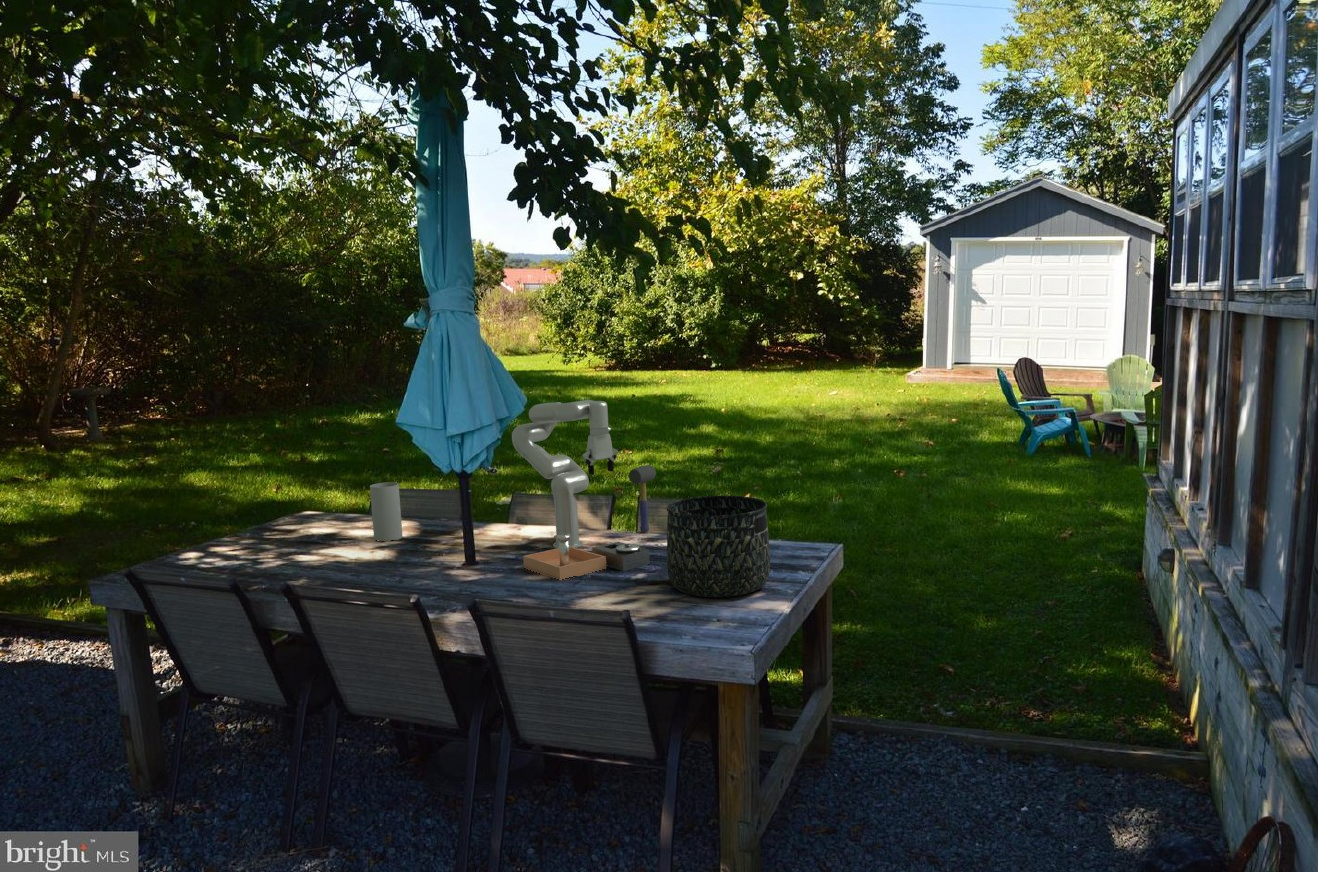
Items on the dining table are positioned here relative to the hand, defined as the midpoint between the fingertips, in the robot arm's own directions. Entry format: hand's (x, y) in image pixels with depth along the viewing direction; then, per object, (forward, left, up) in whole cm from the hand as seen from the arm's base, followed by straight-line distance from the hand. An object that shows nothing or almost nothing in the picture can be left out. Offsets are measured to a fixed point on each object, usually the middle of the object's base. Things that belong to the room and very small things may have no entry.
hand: (601, 472), depth 420 cm
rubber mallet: (-15, +33, -34) cm, 50 cm away
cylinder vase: (-94, -53, -34) cm, 113 cm away
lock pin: (+10, -27, -32) cm, 43 cm away
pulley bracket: (+20, -7, -33) cm, 39 cm away
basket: (+73, -3, -34) cm, 80 cm away
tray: (+10, -27, -33) cm, 44 cm away
